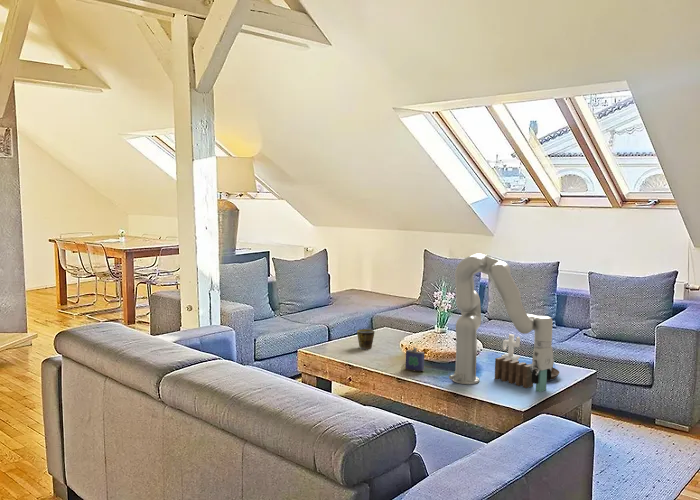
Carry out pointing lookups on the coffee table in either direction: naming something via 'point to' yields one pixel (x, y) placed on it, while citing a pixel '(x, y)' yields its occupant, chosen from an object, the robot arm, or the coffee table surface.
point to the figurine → (511, 347)
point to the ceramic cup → (365, 338)
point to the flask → (414, 360)
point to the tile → (542, 381)
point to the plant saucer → (552, 373)
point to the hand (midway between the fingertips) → (541, 381)
